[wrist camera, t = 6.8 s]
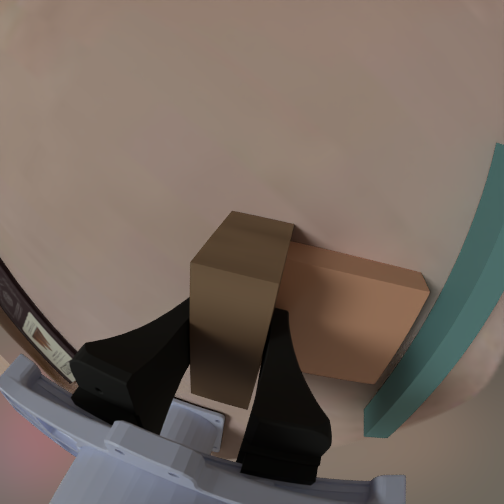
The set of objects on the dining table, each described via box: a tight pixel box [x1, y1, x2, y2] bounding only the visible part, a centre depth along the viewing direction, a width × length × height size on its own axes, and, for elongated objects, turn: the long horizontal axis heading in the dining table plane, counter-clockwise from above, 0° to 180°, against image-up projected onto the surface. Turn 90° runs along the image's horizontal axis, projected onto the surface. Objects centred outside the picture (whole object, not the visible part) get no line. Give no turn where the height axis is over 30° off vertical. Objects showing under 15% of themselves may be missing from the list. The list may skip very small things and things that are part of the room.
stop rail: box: [364, 143, 504, 438], centre depth 13 cm, size 20×2×2 cm, turn 172°
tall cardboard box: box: [190, 211, 294, 410], centre depth 14 cm, size 8×3×5 cm, turn 172°
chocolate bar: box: [0, 258, 77, 384], centre depth 25 cm, size 9×1×18 cm
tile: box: [275, 241, 430, 384], centre depth 15 cm, size 7×7×2 cm
